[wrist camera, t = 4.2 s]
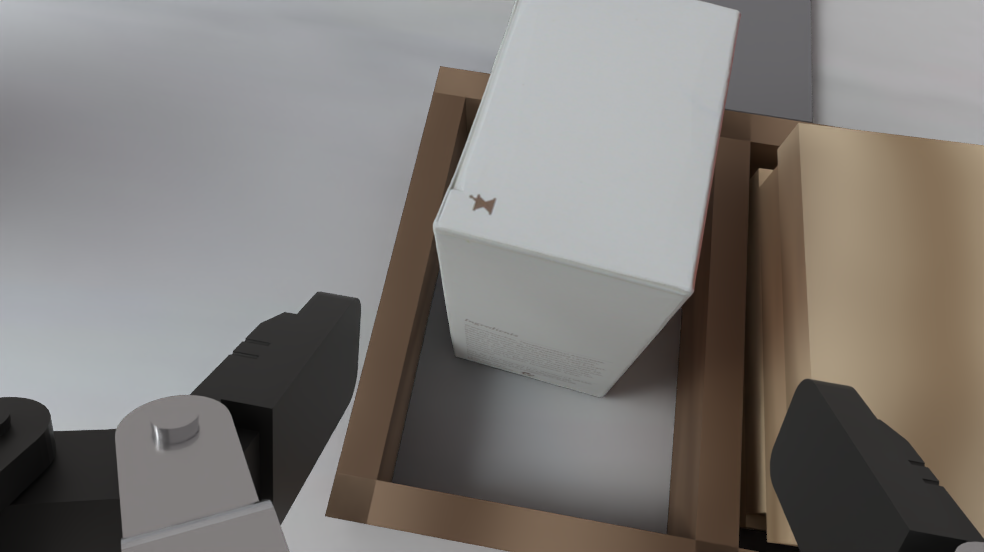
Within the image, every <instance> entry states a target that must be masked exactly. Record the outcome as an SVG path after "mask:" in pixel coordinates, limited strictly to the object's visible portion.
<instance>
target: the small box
mask: <svg viewBox="0 0 984 552" xmlns="http://www.w3.org/2000/svg"><path fill="white" fill-rule="evenodd" d="M740 18H741V13H740V12H739V11H738V10H735V9H731V8H727V7H723V6H719V5H715V4H712V3H707V2H703V1H699V0H516V1H515V4H514V7H513V10H512V14H511V17H510V20H509V23H508V26H507V29H506V31H505V34H504V37H503V40H502V43H501V46H500V49H499V51H498V54H497V57H496V60H495V63H494V65H493V68H492V71H491V74H490V77H489V80H488V83H487V86H486V89H485V92H484V94H483V97H482V100H481V103H480V106H479V108H478V111H477V114H476V117H475V119H474V122H473V125H472V128H471V130H470V133H469V136H468V139H467V142H466V144H465V147H464V150H463V152H462V155H461V157H460V160H459V163H458V165H457V168H456V171H455V173H454V176H453V178H452V180H451V183H450V185H449V187H448V189H447V192H446V194H445V196H444V199H443V201H442V204H441V206H440V209H439V211H438V213H437V216H436V218H435V220H434V223H433V232H434V236H435V241H436V248H437V253H438V259H439V265H440V271H441V278H442V284H443V290H444V296H445V303H446V309H447V316H448V321H449V326H450V333H451V339H452V343H453V349H454V354H455V356H456V357H459V358H463V359H467V360H470V361H474V362H477V363H481V364H484V365H487V366H491V367H494V368H498V369H501V370H505V371H508V372H512V373H515V374H519V375H522V376H526V377H529V378H533V379H536V380H540V381H543V382H547V383H550V384H554V385H558V386H561V387H565V388H568V389H572V390H575V391H579V392H582V393H586V394H590V395H593V396H596V397H600V398H601V397H603V396H604V395H605V394H606V393H607V392H608V391H609V390H610V389H611V388H612V386H613V385H614V384H615V383H616V382H617V381H618V379H619V378H620V377H621V376H622V375H623V374H624V373H625V371H626V370H627V369H628V368H629V367H630V365H631V364H632V363H633V362H634V361H635V360H636V359H637V357H638V356H639V355H640V354H641V353H642V351H643V350H644V349H645V348H646V347H647V346H648V345H649V343H650V342H651V341H652V340H653V339H654V338H655V336H656V335H657V334H658V333H659V332H660V331H661V330H662V328H663V327H664V326H665V325H666V324H667V322H668V321H669V320H670V319H671V317H672V316H673V315H674V314H675V313H676V312H677V311H678V310H679V309H680V307H681V306H682V305H683V304H684V303H685V302H686V300H687V299H688V298H689V297H690V296H691V295H692V294H693V292H694V288H695V281H696V275H697V269H698V264H699V258H700V252H701V246H702V240H703V234H704V228H705V222H706V216H707V210H708V204H709V198H710V192H711V186H712V180H713V175H714V169H715V163H716V157H717V151H718V145H719V139H720V133H721V128H722V122H723V116H724V110H725V104H726V98H727V92H728V86H729V81H730V75H731V69H732V64H733V58H734V52H735V45H736V39H737V33H738V27H739V22H740Z"/></svg>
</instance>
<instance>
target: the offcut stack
mask: <svg viewBox="0 0 984 552" xmlns="http://www.w3.org/2000/svg"><path fill="white" fill-rule="evenodd" d="M777 153H778V165H777V167H776V168H775V169H774V170H770V169H762V168H758V170H757V171H756V172H755V174H754V175H753V176H752V177H751V179H750V180H749V209H748V244H747V278H746V312H745V346H744V381H743V415H742V449H741V483H740V517H739V528H742V529H749V530H756V531H763V532H767V542H770V543H777V544H783V545H790V546H797V547H798V545H797V542H796V540H795V537H794V535H793V533H792V530H791V528H790V526H789V523H788V521H787V519H786V516H785V514H784V511H783V509H782V507H781V504H780V502H779V500H778V497H777V495H776V492H775V490H774V488H773V485H772V482H771V477H770V458H771V453H772V449H773V446H774V444H775V441H776V438H777V436H778V433H779V431H780V428H781V426H782V423H783V421H784V418H785V416H786V413H787V411H788V408H789V405H790V403H791V400H792V398H793V395H794V393H795V390H796V388H797V386H798V385H799V384H800V382H801V381H803V380H804V379H813V380H818V381H824V382H830V383H835V384H841V385H847V386H851V387H853V388H854V389H855V390H856V391H857V392H858V394H859V395H860V396H861V398H862V399H863V400H864V402H865V403H866V404H867V406H868V407H869V408H870V410H871V411H872V412H873V414H874V415H875V416H876V418H877V419H880V420H882V421H883V422H884V423H886V424H887V425H888V426H889V427H891V428H892V429H893V430H895V431H896V432H897V433H898V434H900V435H901V436H902V437H903V438H905V439H906V440H907V441H908V442H909V443H910V444H911V446H912V447H913V448H914V449H915V451H916V452H917V453H918V455H919V456H920V457H921V458H922V460H923V461H924V462H925V467H928V468H929V469H930V470H931V471H932V473H933V474H934V475H935V476H936V478H937V479H938V480H939V486H943V487H944V488H945V489H946V491H947V492H948V493H949V494H950V496H951V497H952V498H953V500H954V501H955V502H956V503H957V505H958V506H959V507H960V509H961V510H962V511H963V512H964V514H965V515H966V516H967V518H968V519H969V520H970V521H971V523H972V524H973V525H974V526H975V528H976V529H977V530H978V532H979V533H980V534H981V535H982V537H983V538H984V146H983V145H975V144H967V143H959V142H951V141H943V140H935V139H926V138H918V137H910V136H902V135H894V134H886V133H877V132H869V131H861V130H853V129H845V128H837V127H829V126H820V125H812V124H804V123H798V124H797V125H796V127H795V128H794V129H793V130H792V132H791V133H790V134H789V135H788V137H787V138H786V139H785V140H784V142H783V143H782V144H781V146H780V147H779V148H778V149H777Z"/></svg>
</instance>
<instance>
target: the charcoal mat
mask: <svg viewBox="0 0 984 552" xmlns="http://www.w3.org/2000/svg"><path fill="white" fill-rule="evenodd" d="M699 1H703V2H707V3H712V4H715V5H719V6H723V7H727V8H731V9H735V10H738V11H739V12H740V13H741V18H740V22H739V27H738V33H737V39H736V45H735V52H734V58H733V64H732V69H731V75H730V81H729V86H728V92H727V98H726V104H725V110H729V111H735V112H742V113H749V114H755V115H762V116H768V117H775V118H781V119H788V120H794V121H801V122H807V123H812V122H813V118H812V45H811V0H699Z"/></svg>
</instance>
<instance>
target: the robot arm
mask: <svg viewBox="0 0 984 552" xmlns="http://www.w3.org/2000/svg"><path fill="white" fill-rule="evenodd" d="M360 318H361V304H360V300H359V299H358V298H353V297H347V296H342V295H336V294H330V293H325V292H317V293H316V294H315V295H314V296H313V297H312V298H311V299H310V300H309V302H308V303H307V304H306V305H305V306H304V307H303V308H302V309H301V310H300V311H299V313H298V314H292V313H287V312H284V313H282V314H280V315H277V316H275V317H273V318H271V319H269V320H267V321H264V322H262V323H260V324H259V325H258V326H257V327H256V328H255V329H254V330H253V331H252V332H251V334H250V335H249V336H248V337H247V338H246V340H245V342H242V343H241V344H240V345H239V346H238V347H237V348H236V349H235V350H234V351H233V354H232V355H229V356H228V357H227V358H226V359H225V360H224V361H223V362H222V363H221V364H220V365H219V366H218V367H217V368H216V369H215V370H214V371H213V372H212V373H211V374H210V375H209V376H208V377H207V378H206V379H205V380H204V381H203V382H202V383H201V384H200V385H199V386H198V387H197V388H196V389H195V390H194V391H193V392H192V393H191V394H190V395H178V396H171V397H166V398H161V399H158V400H155V401H151V402H149V403H147V404H144V405H142V406H140V407H138V408H137V409H135V410H133V411H132V412H131V413H129V414H128V415H127V416H126V417H125V418H124V419H123V420H122V421H121V422H120V424H119V425H118V427H117V429H108V430H81V431H53V427H52V421H51V415H50V413H49V410H48V409H47V408H46V407H45V406H44V405H43V404H41V403H39V402H37V401H34V400H31V399H26V398H18V397H2V398H0V552H289V549H288V546H287V543H286V540H285V537H284V535H283V532H282V529H281V526H280V525H281V524H282V522H283V520H284V518H285V517H286V515H287V513H288V511H289V510H290V508H291V506H292V504H293V502H294V501H295V499H296V497H297V495H298V494H299V492H300V490H301V488H302V486H303V485H304V483H305V481H306V479H307V478H308V476H309V474H310V472H311V471H312V469H313V467H314V465H315V463H316V462H317V460H318V458H319V456H320V455H321V453H322V451H323V449H324V447H325V446H326V444H327V442H328V440H329V439H330V437H331V435H332V433H333V432H334V430H335V428H336V426H337V424H338V423H339V421H340V419H341V417H342V416H343V414H344V412H345V410H346V408H347V407H348V405H349V403H350V400H351V398H352V395H353V392H354V388H355V384H356V378H357V370H358V353H359V335H360ZM770 477H771V482H772V485H773V488H774V490H775V492H776V495H777V497H778V500H779V502H780V504H781V507H782V509H783V511H784V514H785V516H786V519H787V521H788V523H789V526H790V528H791V530H792V533H793V535H794V537H795V540H796V542H797V545H798V547H799V549H800V552H984V538H983V537H982V535H981V534H980V533H979V532H978V530H977V529H976V528H975V526H974V525H973V524H972V523H971V521H970V520H969V519H968V518H967V516H966V515H965V514H964V512H963V511H962V510H961V509H960V507H959V506H958V505H957V503H956V502H955V501H954V500H953V498H952V497H951V496H950V494H949V493H948V492H947V491H946V489H945V488H944V487H943V486H939V480H938V479H937V478H936V476H935V475H934V474H933V473H932V471H931V470H930V469H929V468H928V467H925V462H924V461H923V460H922V458H921V457H920V456H919V455H918V453H917V452H916V451H915V449H914V448H913V447H912V446H911V444H910V443H909V442H908V441H907V440H906V439H905V438H903V437H902V436H901V435H900V434H898V433H897V432H896V431H895V430H893V429H892V428H891V427H889V426H888V425H887V424H886V423H884V422H883V421H882V420H880V419H877V418H876V416H875V415H874V414H873V412H872V411H871V410H870V408H869V407H868V406H867V404H866V403H865V402H864V400H863V399H862V398H861V396H860V395H859V394H858V392H857V391H856V390H855V389H854V388H853V387H851V386H847V385H841V384H835V383H830V382H824V381H818V380H813V379H804V380H803V381H801V382H800V384H799V385H798V386H797V388H796V390H795V393H794V395H793V398H792V400H791V403H790V405H789V408H788V411H787V413H786V416H785V418H784V421H783V423H782V426H781V428H780V431H779V433H778V436H777V438H776V441H775V444H774V446H773V449H772V453H771V458H770Z"/></svg>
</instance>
